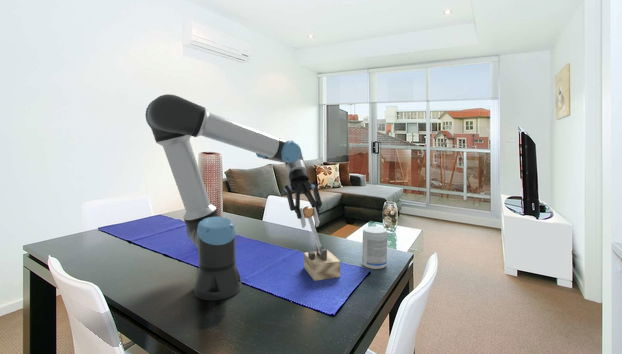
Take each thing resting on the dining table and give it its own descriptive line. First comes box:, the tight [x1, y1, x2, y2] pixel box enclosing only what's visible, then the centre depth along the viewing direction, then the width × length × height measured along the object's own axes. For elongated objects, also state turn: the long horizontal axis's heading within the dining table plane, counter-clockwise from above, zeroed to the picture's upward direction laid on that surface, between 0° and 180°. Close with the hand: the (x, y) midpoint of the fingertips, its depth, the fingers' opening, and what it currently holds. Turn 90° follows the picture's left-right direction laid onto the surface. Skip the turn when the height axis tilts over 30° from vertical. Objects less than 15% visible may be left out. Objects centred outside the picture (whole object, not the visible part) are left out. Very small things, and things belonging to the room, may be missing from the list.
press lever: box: [302, 205, 324, 256], centre depth 114 cm, size 4×4×20 cm
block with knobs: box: [303, 244, 341, 282], centre depth 117 cm, size 10×12×10 cm
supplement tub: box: [362, 226, 388, 270], centre depth 123 cm, size 10×10×15 cm
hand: (311, 225), depth 109 cm, fingers closed on press lever, 4 cm apart
